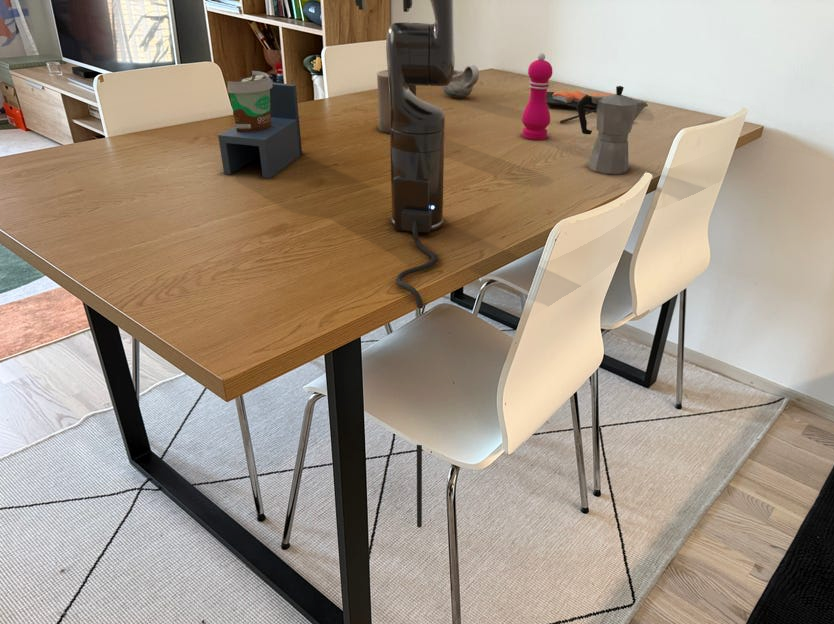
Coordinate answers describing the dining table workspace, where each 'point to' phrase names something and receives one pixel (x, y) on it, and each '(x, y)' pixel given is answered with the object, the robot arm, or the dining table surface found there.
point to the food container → (251, 102)
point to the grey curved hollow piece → (462, 82)
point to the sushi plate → (569, 101)
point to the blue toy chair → (266, 136)
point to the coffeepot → (610, 130)
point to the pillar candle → (386, 100)
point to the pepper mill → (537, 100)
